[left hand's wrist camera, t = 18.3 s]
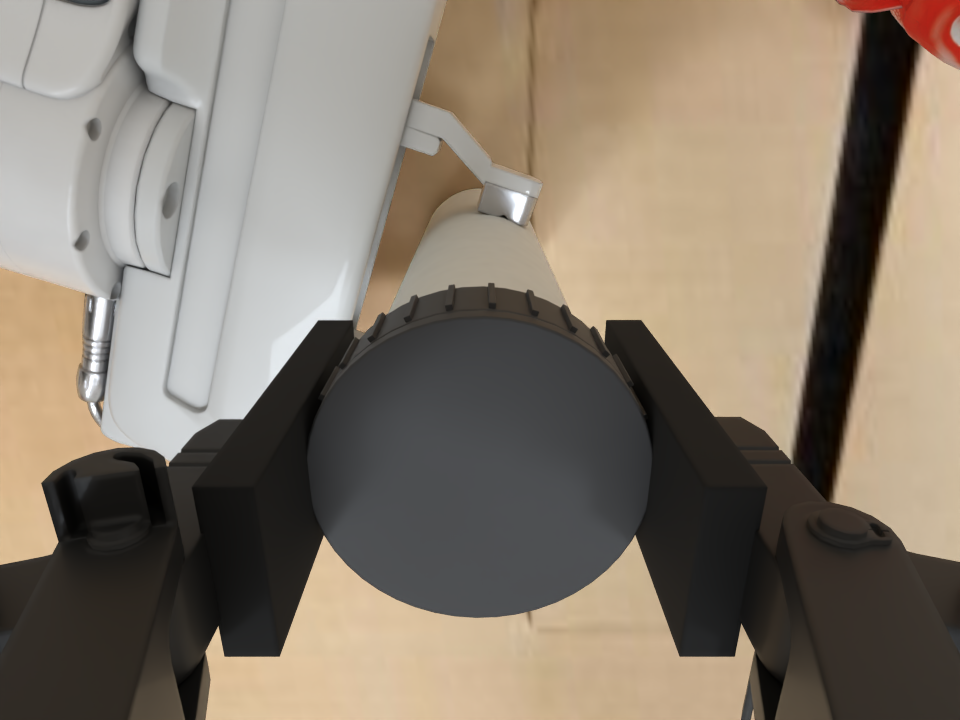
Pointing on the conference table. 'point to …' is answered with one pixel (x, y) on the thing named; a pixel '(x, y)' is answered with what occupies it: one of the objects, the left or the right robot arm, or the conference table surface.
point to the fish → (922, 23)
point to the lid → (479, 454)
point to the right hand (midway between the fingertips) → (504, 287)
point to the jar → (477, 254)
